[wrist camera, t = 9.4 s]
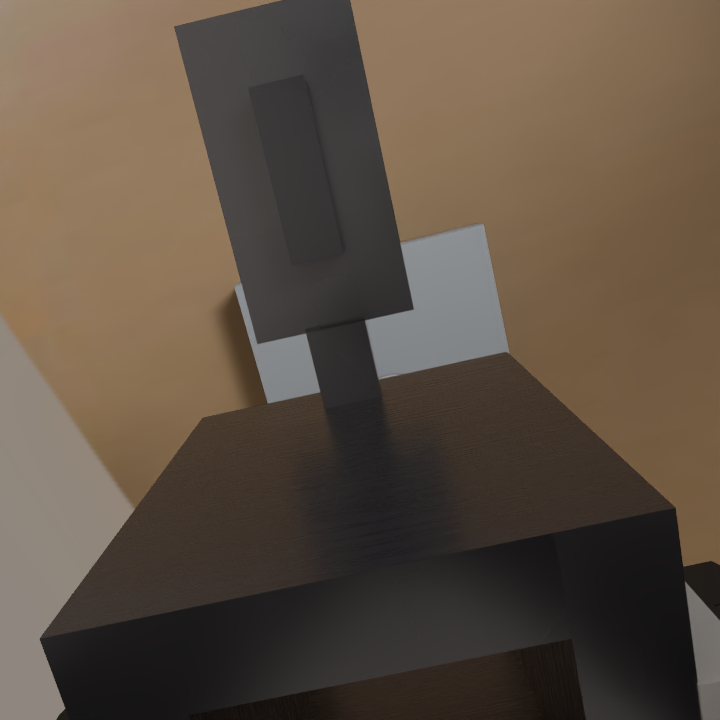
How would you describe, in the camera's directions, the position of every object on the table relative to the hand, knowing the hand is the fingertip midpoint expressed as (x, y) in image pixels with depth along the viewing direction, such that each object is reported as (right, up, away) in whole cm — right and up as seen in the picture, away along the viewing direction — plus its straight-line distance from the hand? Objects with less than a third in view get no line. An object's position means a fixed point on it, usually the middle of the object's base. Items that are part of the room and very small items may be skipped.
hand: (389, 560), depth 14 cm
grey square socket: (-1, +4, +1) cm, 4 cm away
